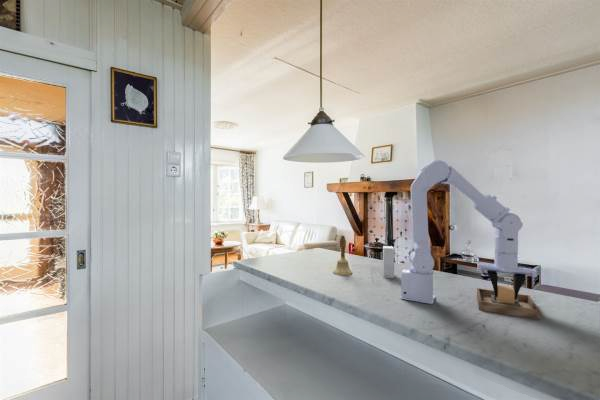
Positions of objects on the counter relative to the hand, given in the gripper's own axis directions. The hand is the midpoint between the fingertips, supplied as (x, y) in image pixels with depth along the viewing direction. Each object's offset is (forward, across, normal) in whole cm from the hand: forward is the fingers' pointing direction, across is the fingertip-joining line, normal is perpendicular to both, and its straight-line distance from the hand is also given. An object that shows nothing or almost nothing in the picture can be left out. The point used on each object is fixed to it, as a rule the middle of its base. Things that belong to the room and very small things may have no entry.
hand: (505, 297), depth 88 cm
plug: (+2, 0, 0) cm, 2 cm away
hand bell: (+3, -56, +11) cm, 57 cm away
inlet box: (+3, 0, 0) cm, 3 cm away
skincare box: (+3, -38, +16) cm, 41 cm away
